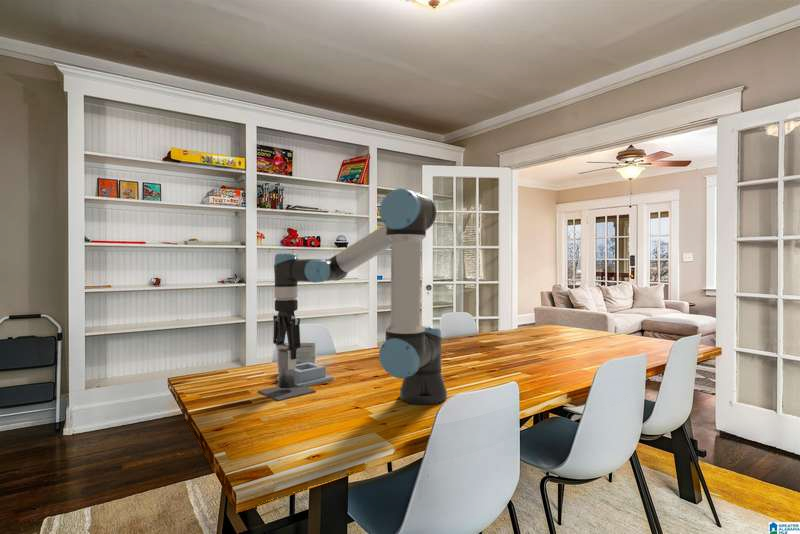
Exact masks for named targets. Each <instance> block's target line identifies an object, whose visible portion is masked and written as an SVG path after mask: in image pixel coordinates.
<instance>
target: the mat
mask: <svg viewBox="0 0 800 534" xmlns="http://www.w3.org/2000/svg"><path fill="white" fill-rule="evenodd" d="M316 392H317V390H316V389H312V388H310V387H309V386H307V387H305V386H302V387H295V386H294V387H291V388H279V386H278V385H277V386H272V387H268V388H267V387H266V388H263V389H259V390H257V393H259V394H262V395H264V396H266V397H269V398H270V399H273V400H275V401H277V402H280V401H284V400H288V399H293V398H296V397H300V396H305V395H308V394H312V393H316Z"/></svg>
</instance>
